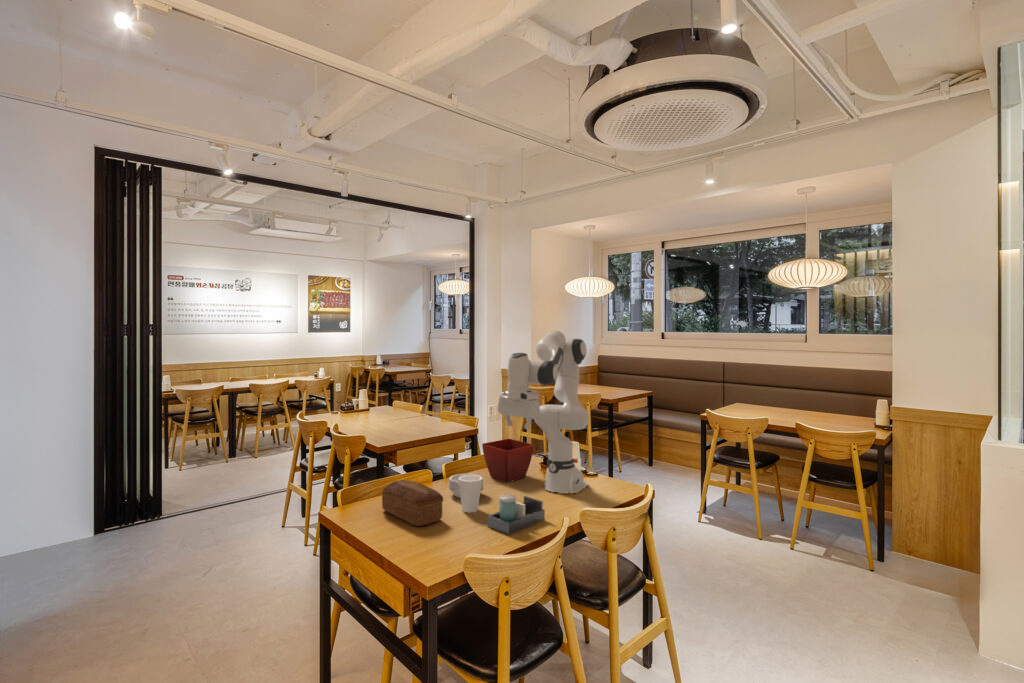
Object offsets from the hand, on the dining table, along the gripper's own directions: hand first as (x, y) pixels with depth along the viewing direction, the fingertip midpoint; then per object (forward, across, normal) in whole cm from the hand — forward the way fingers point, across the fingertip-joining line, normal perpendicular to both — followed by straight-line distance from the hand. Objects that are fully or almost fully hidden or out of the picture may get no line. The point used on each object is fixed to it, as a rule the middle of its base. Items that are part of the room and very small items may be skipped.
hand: (517, 427), depth 198 cm
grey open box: (+34, +9, -10) cm, 36 cm away
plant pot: (+34, -35, +31) cm, 58 cm away
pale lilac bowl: (+34, -29, -2) cm, 45 cm away
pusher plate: (+33, +9, -10) cm, 35 cm away
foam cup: (+34, -14, -13) cm, 39 cm away
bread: (+34, -25, -34) cm, 54 cm away
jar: (+33, +9, -15) cm, 37 cm away
